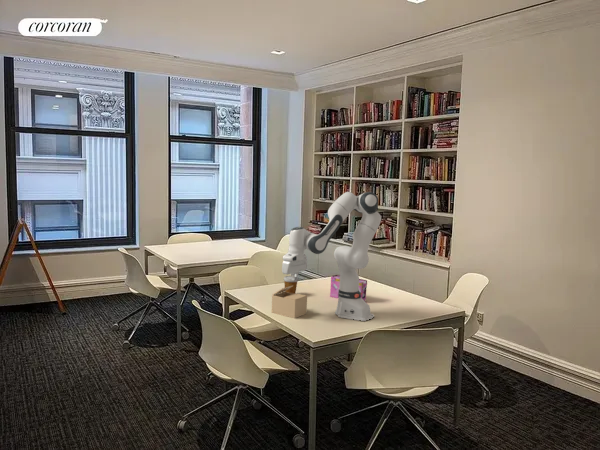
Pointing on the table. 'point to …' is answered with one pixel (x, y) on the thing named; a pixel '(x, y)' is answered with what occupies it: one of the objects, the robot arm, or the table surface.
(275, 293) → the carton flap
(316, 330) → the table surface
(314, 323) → the table surface
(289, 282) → the disposable coffee cup
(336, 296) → the gum box
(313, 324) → the table surface
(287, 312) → the kraft carton
